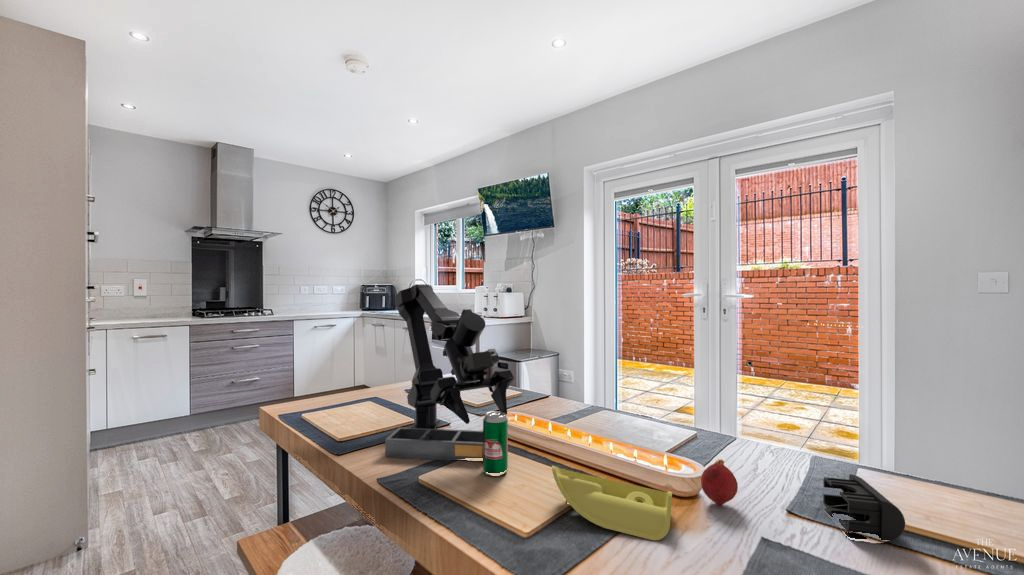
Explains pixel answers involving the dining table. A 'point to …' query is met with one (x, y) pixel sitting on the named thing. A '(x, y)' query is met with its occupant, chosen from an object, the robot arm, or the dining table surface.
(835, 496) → the end cap
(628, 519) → the plastic component
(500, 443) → the soda can
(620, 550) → the dining table surface
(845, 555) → the dining table surface
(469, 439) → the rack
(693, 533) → the dining table surface
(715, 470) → the onion
